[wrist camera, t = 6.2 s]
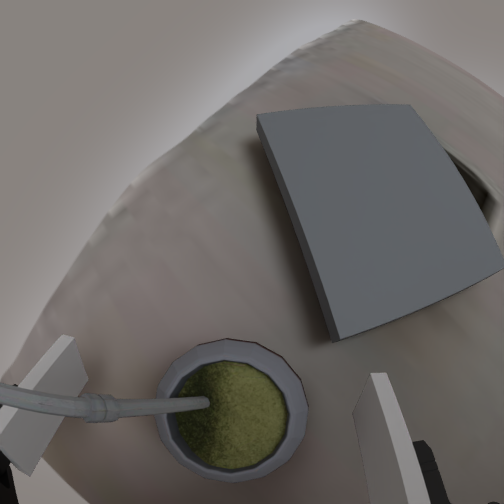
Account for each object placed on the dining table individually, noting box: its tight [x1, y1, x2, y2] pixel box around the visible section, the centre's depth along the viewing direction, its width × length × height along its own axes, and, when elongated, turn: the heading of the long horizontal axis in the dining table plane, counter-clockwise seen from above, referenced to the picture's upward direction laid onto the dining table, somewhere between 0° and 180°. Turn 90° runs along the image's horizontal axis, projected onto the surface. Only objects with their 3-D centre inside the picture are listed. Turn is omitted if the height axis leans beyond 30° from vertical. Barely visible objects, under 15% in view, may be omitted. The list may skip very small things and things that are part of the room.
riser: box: [256, 104, 504, 343], centre depth 21 cm, size 18×16×4 cm
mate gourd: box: [0, 338, 309, 483], centre depth 10 cm, size 8×8×15 cm
